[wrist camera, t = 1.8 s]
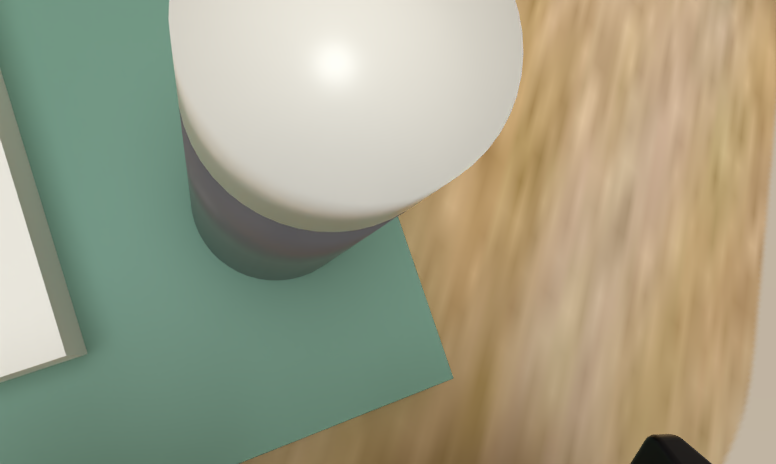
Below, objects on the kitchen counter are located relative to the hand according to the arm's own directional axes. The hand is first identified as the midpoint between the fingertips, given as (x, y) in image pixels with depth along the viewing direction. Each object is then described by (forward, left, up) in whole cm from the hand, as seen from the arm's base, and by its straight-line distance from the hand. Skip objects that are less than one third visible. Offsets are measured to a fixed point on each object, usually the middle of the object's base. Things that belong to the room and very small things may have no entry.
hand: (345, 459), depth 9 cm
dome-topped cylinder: (+6, -2, -11) cm, 13 cm away
